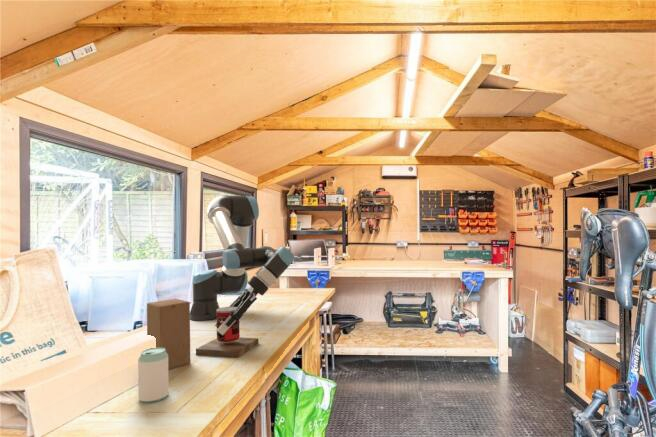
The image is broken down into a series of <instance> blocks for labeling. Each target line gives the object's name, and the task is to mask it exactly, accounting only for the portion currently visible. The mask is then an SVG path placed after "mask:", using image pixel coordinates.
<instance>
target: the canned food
mask: <svg viewBox="0 0 656 437" xmlns="http://www.w3.org/2000/svg"><path fill="white" fill-rule="evenodd" d="M236 308H237V307H229V306H223V307H220V308H219V309H217V311H216V318H215V319H216V322H217V327H216V338H217V340H218V341H220V342H231V341H235V340H238V339H239V337H240V319H239V320H236V321H235V322H234V323H233V324H232V325H231V327H230V328H229V329H228V330H227V331H226V332H225V333H224V334H223V335H222V334H220V333H219V332H218V331H217V329H218V328H219V327H220V326H221V325H222V324H223V323H224V321H225V320H226V319H227V318H228V317H229V316H230V315H229V314H233V312H234V311H235V310H236Z"/></svg>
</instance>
